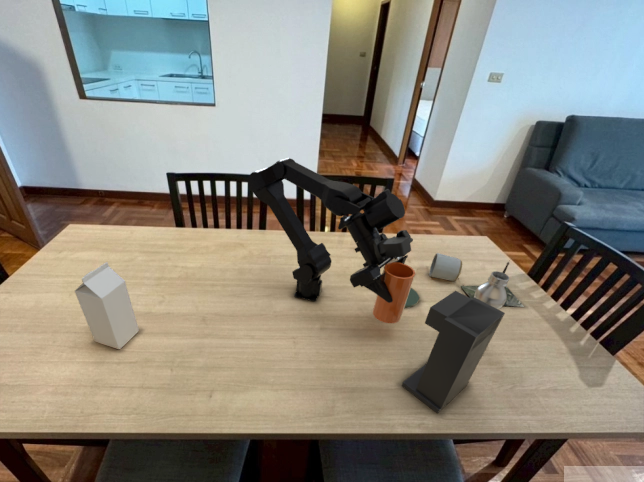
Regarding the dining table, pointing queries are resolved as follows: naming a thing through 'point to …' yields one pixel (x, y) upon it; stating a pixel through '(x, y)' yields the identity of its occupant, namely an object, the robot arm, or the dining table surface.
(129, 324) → the milk carton
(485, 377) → the dining table surface
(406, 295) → the orange cup
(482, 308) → the coffee maker
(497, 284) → the silver metal bottle
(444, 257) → the ceramic mug
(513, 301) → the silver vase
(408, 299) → the saucer
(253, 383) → the dining table surface
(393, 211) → the robot arm
